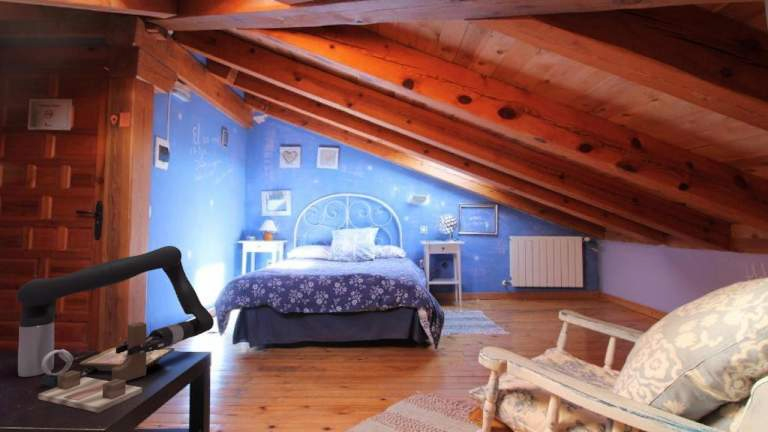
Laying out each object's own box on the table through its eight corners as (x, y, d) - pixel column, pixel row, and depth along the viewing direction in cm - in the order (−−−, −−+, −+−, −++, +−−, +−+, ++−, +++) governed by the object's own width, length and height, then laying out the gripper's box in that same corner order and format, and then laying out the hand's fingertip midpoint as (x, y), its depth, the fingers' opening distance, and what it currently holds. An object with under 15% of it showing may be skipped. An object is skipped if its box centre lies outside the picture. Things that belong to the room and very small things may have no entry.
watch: (76, 380, 125) (76, 347, 125) (47, 390, 117) (47, 355, 117) (66, 377, 127) (66, 345, 127) (37, 387, 119) (37, 353, 119)
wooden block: (116, 384, 120) (116, 329, 121) (111, 381, 123) (111, 327, 123) (146, 375, 128) (146, 323, 128) (141, 372, 130) (141, 321, 131)
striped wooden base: (38, 399, 111) (38, 380, 111) (84, 381, 124) (84, 364, 124) (98, 412, 103) (98, 393, 103) (141, 392, 115) (141, 374, 116)
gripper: (152, 324, 141) (107, 338, 125) (181, 328, 137) (138, 342, 121) (152, 344, 141) (106, 360, 125) (181, 348, 137) (137, 365, 120)
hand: (122, 351), depth 123 cm, fingers closed on wooden block, 4 cm apart
